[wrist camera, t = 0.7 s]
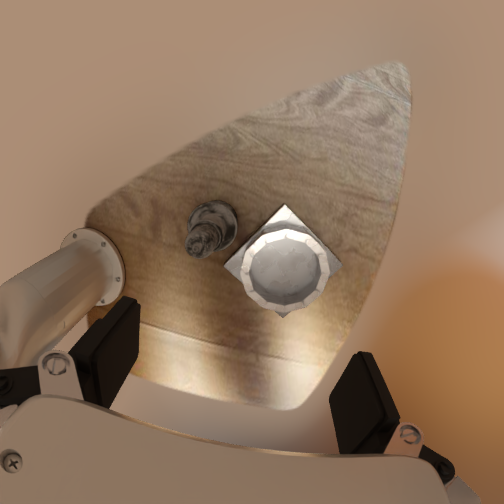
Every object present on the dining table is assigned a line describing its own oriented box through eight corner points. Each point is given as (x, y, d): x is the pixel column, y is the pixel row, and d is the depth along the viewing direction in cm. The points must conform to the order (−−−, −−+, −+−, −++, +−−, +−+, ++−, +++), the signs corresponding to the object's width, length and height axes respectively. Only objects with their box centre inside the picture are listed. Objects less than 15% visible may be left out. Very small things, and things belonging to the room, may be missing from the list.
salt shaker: (188, 206, 35) (153, 229, 24) (231, 191, 35) (214, 208, 23) (203, 248, 37) (178, 288, 26) (246, 235, 36) (237, 271, 25)
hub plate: (282, 313, 40) (283, 327, 36) (224, 262, 38) (220, 273, 34) (340, 261, 37) (348, 272, 33) (284, 203, 35) (286, 208, 31)
